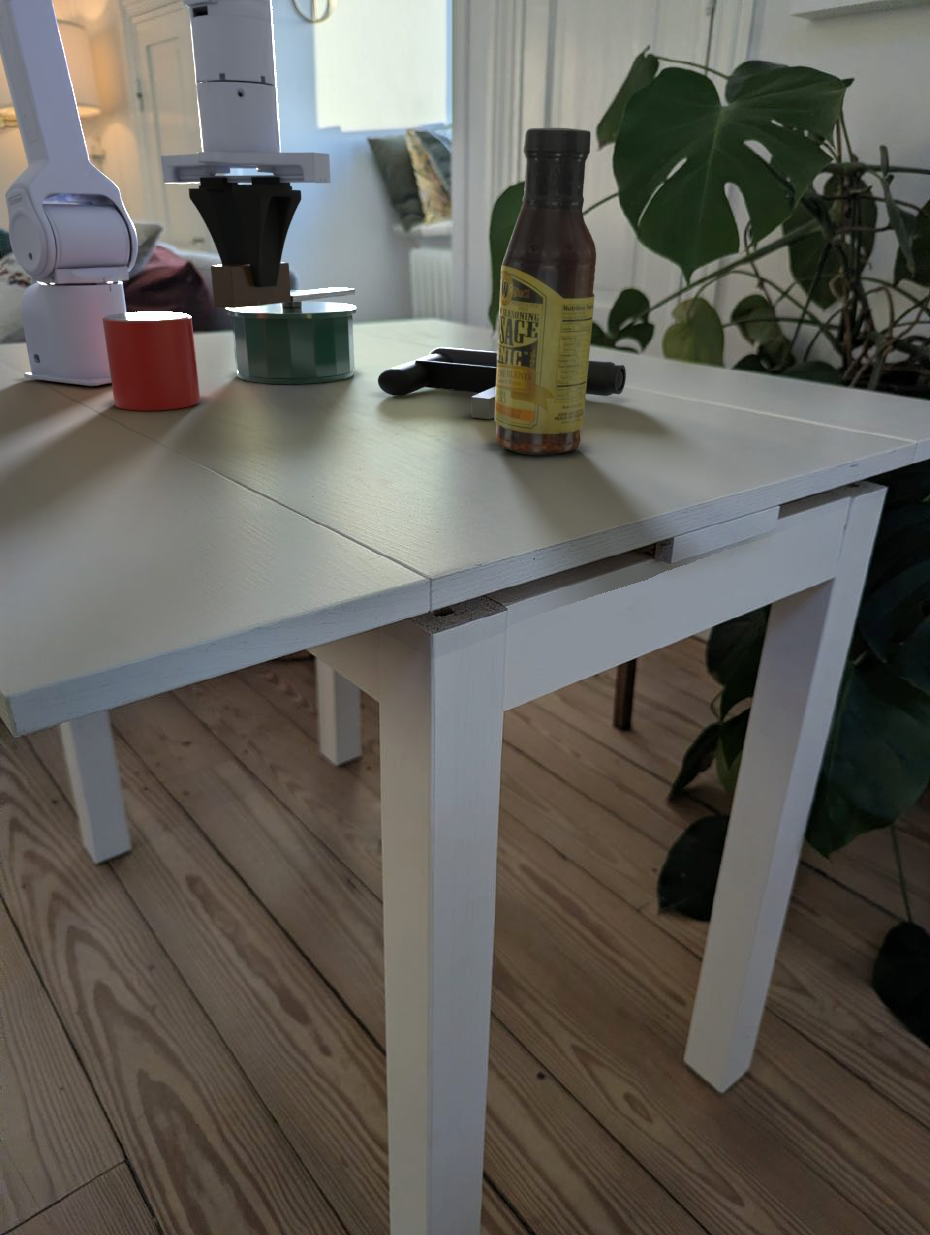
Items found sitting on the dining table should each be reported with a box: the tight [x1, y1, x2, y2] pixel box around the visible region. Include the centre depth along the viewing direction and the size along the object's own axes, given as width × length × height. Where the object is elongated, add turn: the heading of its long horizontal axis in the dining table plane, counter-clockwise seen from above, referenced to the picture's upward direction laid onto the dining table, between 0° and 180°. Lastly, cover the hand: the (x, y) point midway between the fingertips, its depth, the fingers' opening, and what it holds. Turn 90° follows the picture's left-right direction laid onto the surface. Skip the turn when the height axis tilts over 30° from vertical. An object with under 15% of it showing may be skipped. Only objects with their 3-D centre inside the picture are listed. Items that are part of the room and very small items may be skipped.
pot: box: [230, 314, 355, 385], centre depth 91 cm, size 12×12×6 cm
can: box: [102, 311, 201, 412], centre depth 76 cm, size 7×7×7 cm
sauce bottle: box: [494, 127, 597, 456], centre depth 60 cm, size 7×6×20 cm
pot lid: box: [225, 289, 357, 319], centre depth 89 cm, size 13×13×3 cm
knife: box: [210, 262, 356, 309], centre depth 75 cm, size 16×2×3 cm, turn 152°
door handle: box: [377, 346, 627, 420], centre depth 80 cm, size 3×20×16 cm
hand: (252, 285), depth 71 cm, fingers closed on knife, 2 cm apart
